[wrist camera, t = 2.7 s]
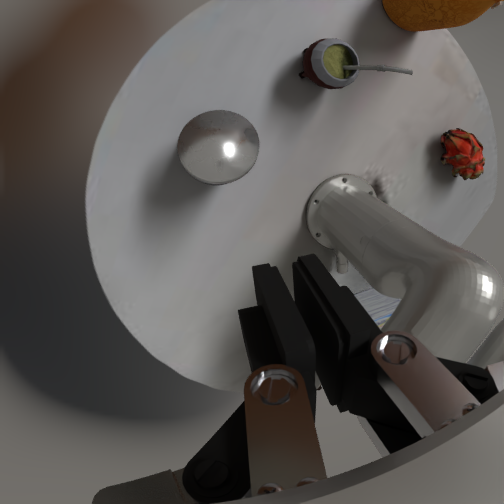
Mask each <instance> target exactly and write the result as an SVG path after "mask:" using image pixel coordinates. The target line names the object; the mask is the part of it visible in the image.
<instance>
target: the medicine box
mask: <svg viewBox="0 0 504 504" xmlns="http://www.w3.org/2000/svg"><path fill="white" fill-rule="evenodd" d="M354 296H355V297H356V298H357V299H358V301H359V302H360V303H361V305H362V306H363V307H364V309H365V310H366V311H367V312H368V314H369V315H370V316H371V318H372V319H373V320H374V322H375V323H376V324H377V326H378V327H379V328H380V330H381V328H382V327H383V326H384V324H385V323H386V322H387V320H388V319H389V318H390V316H391V315H392V313H393V312H394V311H395V309H396V307H397V306H398V304H399V303H400V301H401V300H400V299H397V298H391V297H387V296H385V295H382V294H380V293H379V292H377V291H376V290H375V289H374V288H371V289H369V290H366V291H363V292H360V293H357V294H354Z"/></svg>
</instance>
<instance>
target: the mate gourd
mask: <svg viewBox="0 0 504 504" xmlns="http://www.w3.org/2000/svg"><path fill="white" fill-rule="evenodd" d="M304 53H305V54H304V59H303V67H304V71H303V72H301V73H299V77H300V78H304V77H308V78H309V79H310V80H311V81H312V82H314V83H315V84H317V85H318V86H321V87H324V88H327V89H339V88H343V87H345V86H347V85H349V84H350V83H352V82H353V81H354V80H355V78H356V77H357V76H358V73H359V70H377V71H393V72H399V73H405V74H410V75H412V73H413V71H412V70H408V69H402V68H397V67H390V66H385V65H377V66H360V63H359V57H358V55H357V54H356V52H355V50H354V49H353V48H352V47H351V46H350V45H349V44H348V43H346V42H344V41H342V40H339V39H321V40H319V41H317V42H315V43H313V44H311V45H310V46H309V48H306V49H305V50H304Z"/></svg>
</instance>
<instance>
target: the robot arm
mask: <svg viewBox="0 0 504 504" xmlns="http://www.w3.org/2000/svg"><path fill="white" fill-rule="evenodd" d="M342 179H343V180H342ZM315 200H316V201H315ZM314 201H315V202H314ZM306 220H307V226H308V228H309V231H310V233H311V234H312V236H313V237H314V238H315V239H316V241H317V242H319V243H320V244H321V245H323V246H325V247H327V248H330V249H334V250H335V255H336V256H337V272H338V273H341V274H344V273H347V272H348V261H349V262H350V263H351V264H352V265H353V266H354V268H355V269H356V270H357V271H358V272H359V273H360V274H361V275H362V276H363V278H364V279H365V280H366V281H367V282H368V283H369V284H370V285H371V286H372V287H373V288H374V289H375V290H376V291H377V292H379V293H380V294H382V295H385V296H387V297H391V298H397V299H402V300H401V301H400V303H399V304H398V306H397V307H396V309H395V311H394V312H393V313H392V315H391V316H390V318H389V319H388V320H387V322H386V323H385V324H384V326H383V327H382V328H381V330H380V328H379V327H378V326H377V324H376V323H375V322H374V320H373V319H372V318H371V316H370V315H369V314H368V312H367V311H366V310H365V309H364V307H363V306H362V305H361V303H360V302H359V301H358V299H357V298H356V297H355V296H354V294H353V293H352V292H351V290H350V289H349V288H348V287H347V286H341V287H340V286H339V285H338V284H337V282H336V281H335V280H334V278H333V277H332V276H331V274H330V273H329V272H328V270H327V269H326V268H325V266H324V265H323V264H322V263H321V261H320V260H319V259H318V257H317V256H316V255H315V254H310V255H305V256H301V257H298V259H297V262H293V264H292V268H293V282H294V298H295V302H294V300H293V298H292V296H291V294H290V292H289V290H288V288H287V286H286V284H285V282H284V280H283V279H282V277H281V275H280V273H279V271H278V269H277V267H276V266H274V267H271V266H270V264H269V263H267V264H262V265H257V266H252V271H253V278H254V285H255V292H256V299H257V305H258V306H254V307H250V308H245V309H240V310H238V314H239V319H240V324H241V329H242V334H243V338H244V343H245V347H246V351H247V355H248V359H249V363H250V367H251V371H252V374H251V375H249V376H248V378H247V380H246V382H245V385H244V402H243V403H242V404H241V405H240V406H239V407H238V409H237V410H236V411H235V412H234V413H233V414H232V415H231V417H230V418H229V419H228V420H227V421H226V422H225V423H224V424H223V426H222V427H221V428H220V429H219V430H218V431H217V432H216V433H215V434H214V435H213V437H212V438H211V439H210V440H209V441H208V442H207V443H206V444H205V445H204V446H203V447H202V448H201V449H200V451H199V452H198V453H197V454H196V455H195V456H194V457H193V458H192V459H191V460H190V461H189V462H188V464H187V465H186V467H185V468H182V469H179V470H176V471H174V472H172V471H171V470H167V471H163V472H160V473H157V474H154V475H150V476H147V477H143V478H140V479H136V480H133V481H129V482H125V483H121V484H117V485H113V486H109V487H106V488H103V489H101V490H100V491H99V492H98V493H97V494H96V495H95V496H94V498H93V501H92V504H504V319H503V320H502V321H501V322H500V323H499V324H498V325H497V326H496V327H495V328H494V330H493V331H492V332H491V333H490V334H489V336H488V337H487V338H486V340H485V341H484V342H483V343H482V345H481V346H480V347H479V349H478V350H477V351H476V353H475V354H474V355H473V356H472V357H471V359H470V360H469V361H468V362H467V363H465V362H466V361H467V360H468V358H469V357H470V356H471V355H472V354H473V352H474V351H475V350H476V348H477V347H478V346H479V345H480V343H481V342H482V341H483V339H484V338H485V337H486V335H487V333H488V332H489V331H490V329H491V328H492V326H493V324H494V323H495V321H496V319H497V317H498V315H499V313H500V310H501V308H502V304H503V300H504V284H503V281H502V279H501V276H500V275H499V273H498V272H497V270H496V269H495V268H494V267H493V266H492V265H491V264H490V263H488V262H487V261H486V260H484V259H483V258H481V257H480V256H478V255H476V254H474V253H472V252H470V251H468V250H465V249H463V248H461V247H458V246H456V245H454V244H452V243H450V242H448V241H446V240H444V239H442V238H440V237H438V236H436V235H435V234H433V233H432V232H430V231H428V230H427V229H425V228H423V227H422V226H420V225H419V224H417V223H416V222H414V221H412V220H411V219H409V218H408V217H406V216H405V215H403V214H401V213H400V212H398V211H397V210H395V209H393V208H392V207H390V206H389V205H387V204H385V203H384V202H382V201H380V200H379V199H377V197H376V194H375V192H374V190H373V188H372V187H371V185H370V184H369V183H368V182H366V181H365V180H364V179H362V178H360V177H358V176H355V175H351V174H340V175H336V176H333V177H331V178H329V179H327V180H326V181H324V182H323V183H322V184H320V185H319V187H318V188H317V189H316V190H315V191H314V193H313V194H312V196H311V198H310V201H309V203H308V207H307V212H306ZM316 233H317V234H316ZM315 371H316V374H317V376H318V378H319V380H320V383H321V385H322V387H323V389H324V391H325V393H326V396H327V398H328V400H329V402H330V404H331V405H332V406H333V405H337V407H338V409H339V411H340V412H345V411H347V410H349V412H350V413H352V414H354V415H357V418H358V420H359V422H360V424H361V425H362V427H363V428H364V430H365V432H366V433H367V435H368V436H369V438H370V439H371V440H372V442H373V444H374V445H375V447H376V448H377V449H378V451H379V453H380V454H381V456H382V457H383V458H381V459H379V460H376V461H374V462H371V463H369V464H366V465H363V466H361V467H358V468H356V469H353V470H350V471H348V472H344V473H342V474H339V475H336V476H333V477H330V478H327V475H326V471H325V466H324V462H323V458H322V453H321V449H320V445H319V440H318V436H317V432H316V428H315V411H316V386H315Z"/></svg>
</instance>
